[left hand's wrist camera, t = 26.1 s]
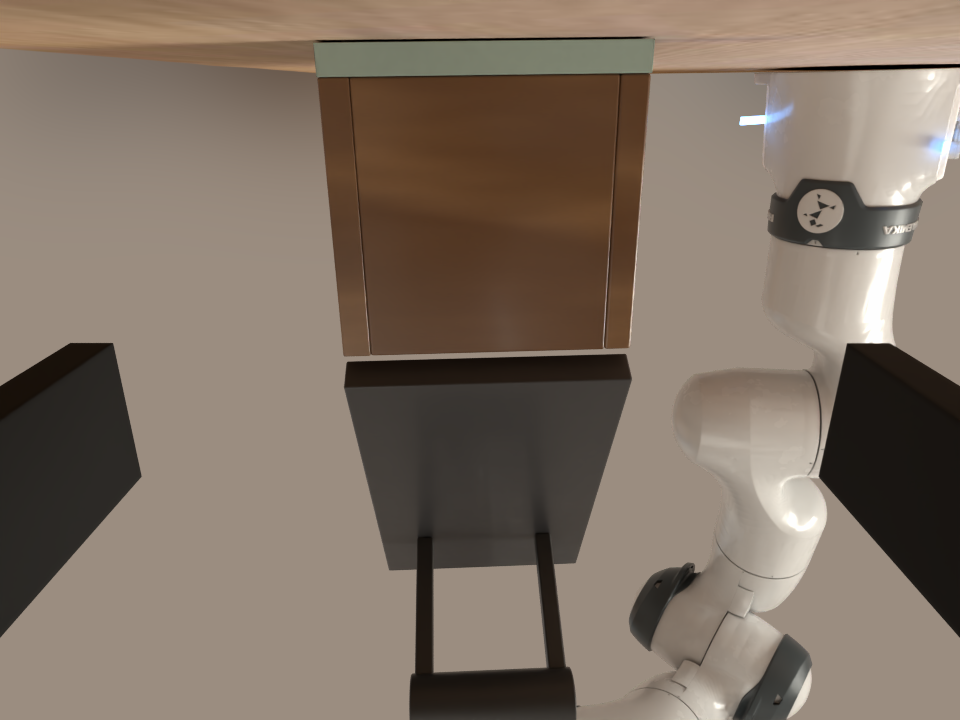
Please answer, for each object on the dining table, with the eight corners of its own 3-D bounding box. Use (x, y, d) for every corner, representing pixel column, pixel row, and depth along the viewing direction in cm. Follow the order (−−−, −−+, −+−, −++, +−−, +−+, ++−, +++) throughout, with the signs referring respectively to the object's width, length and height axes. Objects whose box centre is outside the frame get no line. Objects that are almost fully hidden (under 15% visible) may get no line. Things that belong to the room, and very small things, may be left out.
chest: (567, 59, 32) (561, 248, 35) (371, 61, 32) (383, 252, 35) (655, 38, 18) (631, 349, 22) (312, 42, 18) (343, 356, 21)
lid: (573, 542, 34) (600, 740, 29) (389, 549, 34) (381, 751, 28) (626, 353, 22) (690, 627, 17) (346, 361, 22) (317, 643, 17)
